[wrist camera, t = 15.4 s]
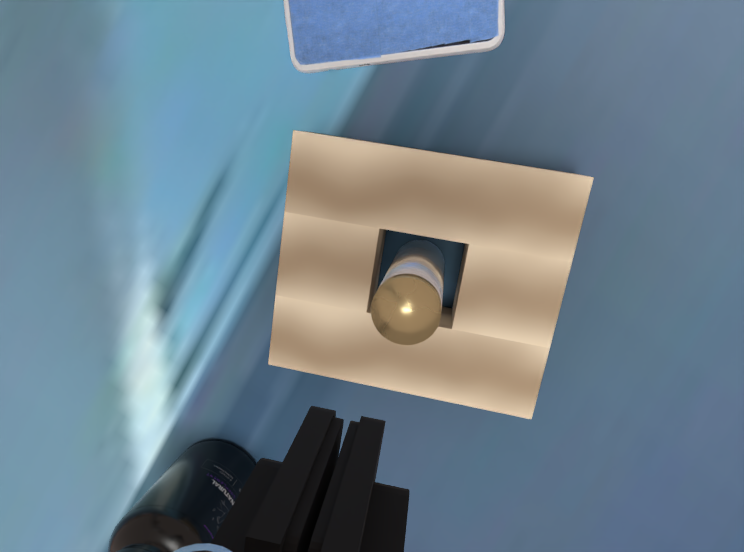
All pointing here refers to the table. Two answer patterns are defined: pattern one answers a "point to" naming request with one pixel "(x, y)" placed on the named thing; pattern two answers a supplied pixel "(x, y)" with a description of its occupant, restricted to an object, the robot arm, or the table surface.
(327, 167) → the block
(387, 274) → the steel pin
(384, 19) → the tablet computer
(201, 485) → the supplement bottle
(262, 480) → the robot arm
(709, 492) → the table surface
